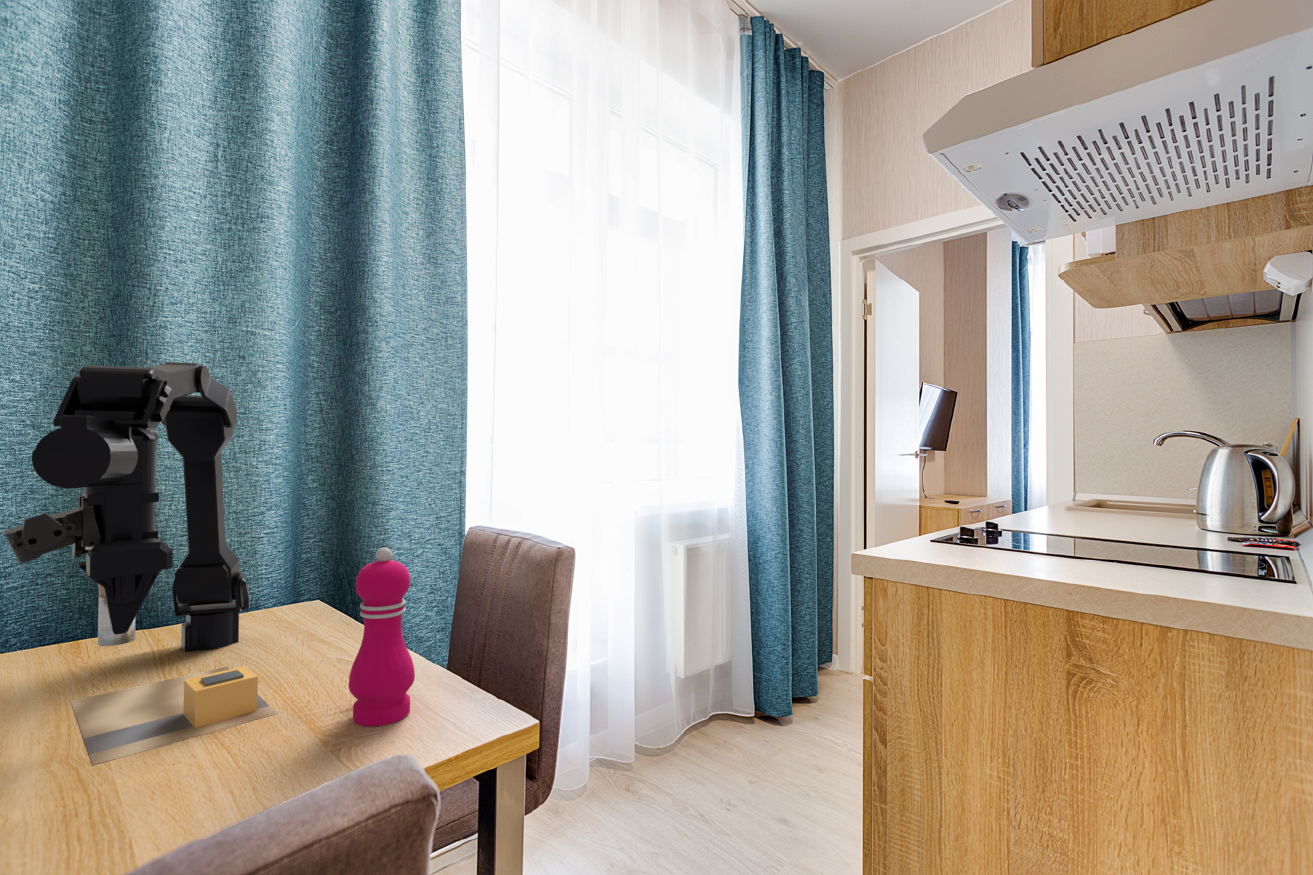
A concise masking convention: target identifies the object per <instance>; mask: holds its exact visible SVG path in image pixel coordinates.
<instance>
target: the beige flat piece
mask: <svg viewBox="0 0 1313 875" xmlns="http://www.w3.org/2000/svg"><path fill="white" fill-rule="evenodd" d="M230 669H231V668H229V667H228V666H224V667H219V668H214V669H211V670H206V671H205V670H204V671H201V672H200V671H199V672H197V673H192V674H187V675H182V676H178V677H174V678H170V679H169V678H168V679H165V680H160V681H156V682H151V683H150V682H149V683H147V684H142V685H137V686H133V687H129V688H124V689H123V688H122V689H119V690H115V691H109V692H105V693H101V694H97V695H95V694H94V695H92V696H87V697H82V698H78V699H74V700H70V703H71V707H72V709H73V712H74V715H75V718H76V721H77V724H78V727H79V730H80V733H81V735H82V739H83V741H84V745H85V748H86V750H87V754H88V756H89V759H90V762H91V766H96V765H100V764H104V763H107V762H110V761H114V760H117V759H122V758H124V757H125V758H126V757H129V756H132V755H136V754H138V753H139V754H140V753H142V752H147V751H150V750H153V749H157V748H161V747H165V746H168V745H171V744H175V743H178V742H182V741H186V740H190V739H193V738H195V737H196V738H197V737H199V736H203V735H204V736H205V735H207V734H211V733H215V732H218V731H221V730H225V729H229V728H232V727H235V726H240V725H243V724H246V723H249V722H253V721H257V720H261V719H264V718H268V717H271V716H274V715H278V714H279V713H278V712H277V711H276V709H274V708H273V707H272V706H271V705H270V704H269V703H268V702H266V701H265V700H264V698H262V696H260V695H259V694H258V693H257V711H254V712H250V713H247V714H243V715H240V716H236V717H232V718H229V719H225V720H222V721H218V722H215V723H211V724H207V725H204V726H200V727H197V728H194V726H193V725H192V724H191V723H190V722H189V721H188V720H187V718H186V717H185V716H184V715H183V708H184V680H186V679H190V678H195V677H199V676H203V675H208V674H212V673H217V672H221V671H225V670H230Z"/></svg>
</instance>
